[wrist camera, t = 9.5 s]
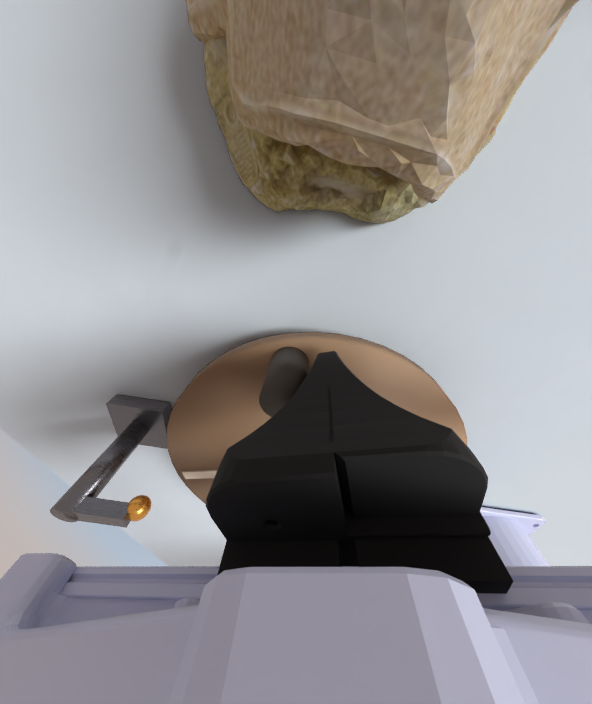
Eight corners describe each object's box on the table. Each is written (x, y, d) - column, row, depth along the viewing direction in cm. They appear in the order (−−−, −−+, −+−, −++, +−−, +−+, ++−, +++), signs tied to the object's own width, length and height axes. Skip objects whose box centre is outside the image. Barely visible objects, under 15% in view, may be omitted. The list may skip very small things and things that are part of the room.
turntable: (434, 525, 20) (461, 590, 17) (222, 525, 23) (205, 582, 19) (490, 310, 11) (577, 352, 7) (123, 351, 14) (54, 396, 10)
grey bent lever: (200, 442, 19) (146, 543, 13) (128, 431, 19) (41, 528, 13) (196, 406, 17) (131, 505, 11) (116, 394, 17) (8, 487, 11)
